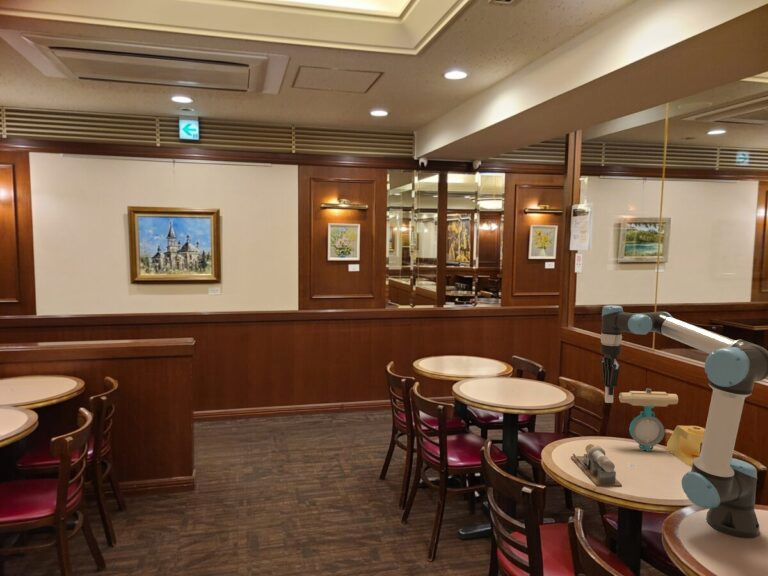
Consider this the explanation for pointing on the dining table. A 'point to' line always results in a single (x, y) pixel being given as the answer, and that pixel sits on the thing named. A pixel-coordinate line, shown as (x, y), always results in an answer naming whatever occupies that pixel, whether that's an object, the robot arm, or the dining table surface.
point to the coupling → (586, 459)
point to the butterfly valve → (647, 416)
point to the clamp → (686, 443)
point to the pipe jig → (598, 468)
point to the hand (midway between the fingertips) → (608, 402)
